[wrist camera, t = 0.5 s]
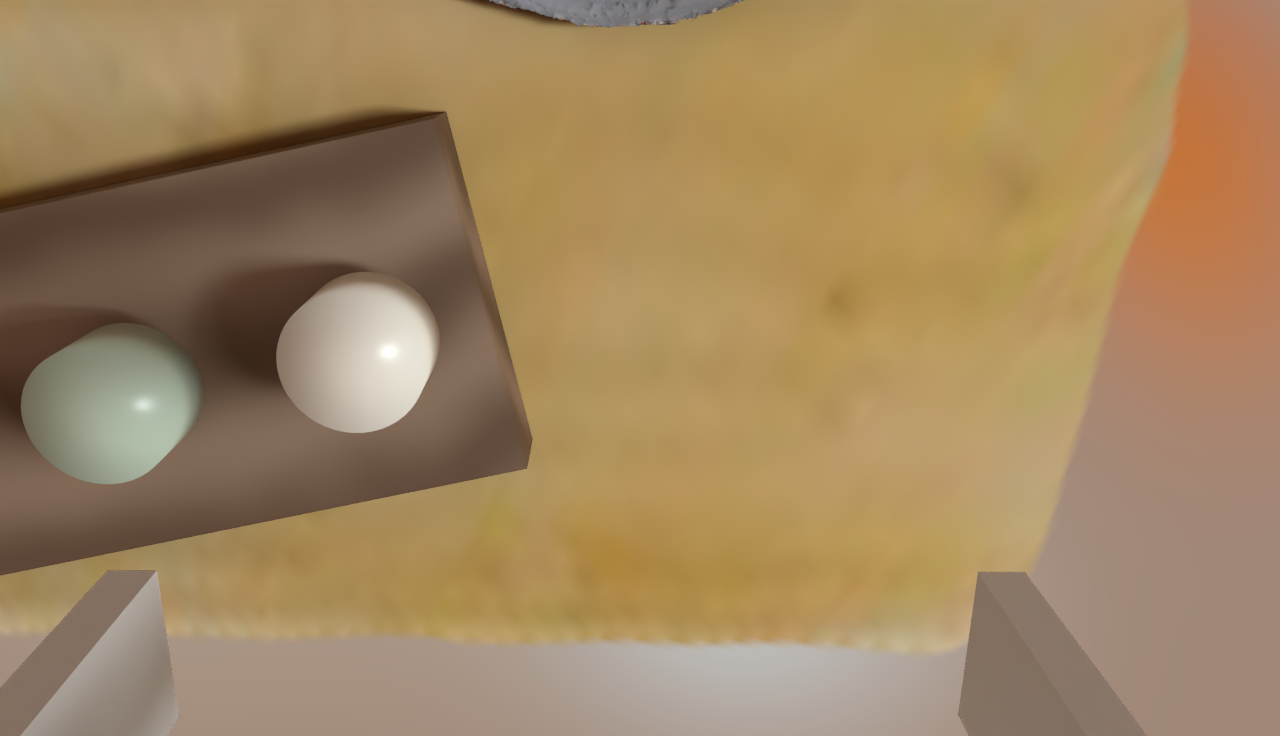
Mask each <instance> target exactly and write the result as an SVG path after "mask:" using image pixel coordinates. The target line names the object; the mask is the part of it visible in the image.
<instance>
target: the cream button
mask: <svg viewBox="0 0 1280 736" xmlns="http://www.w3.org/2000/svg"><path fill="white" fill-rule="evenodd" d="M439 346H440V338H439V330H438V325H437V322H436V319H435V317H434V315H433V313H432V311H431V309H430V307H429V306H428V304H427V303H426V301H425V300H424V299H423V298H422V297H421V295H420V294H419V293H418V292H416V291H415V290H414V289H413V288H412V287H410V286H409V285H407V284H406V283H404V282H403V281H401V280H399V279H397V278H394V277H392V276H389V275H386V274H382V273H377V272H355V273H349V274H346V275H342V276H340V277H338V278H335V279H333V280H332V281H330V282H328V283H327V284H326V285H324V286H323V287H322V288H321V289H320V290H318V291H317V292H316V293H315V294H314V295H313V296H312V297H311V298H310V299H309V300H308V301H307V302H306V303H304V304H303V305H302V306H301V307H300V308H299V309H298V310H297V311H296V312H295V313H294V314H293V315H292V316H291V317H290V318H289V320H288V321H287V323H286V324H285V326H284V328H283V330H282V332H281V334H280V337H279V341H278V345H277V351H276V363H277V370H278V374H279V378H280V381H281V383H282V386H283V388H284V390H285V391H286V393H287V395H288V397H289V398H290V399H291V401H292V402H293V403H294V404H295V405H296V406H297V408H298V409H299V410H300V411H301V412H303V413H304V414H305V415H306V416H308V417H309V418H310V419H312V420H314V421H315V422H317V423H319V424H321V425H323V426H325V427H328V428H331V429H333V430H337V431H342V432H349V433H366V432H373V431H376V430H380V429H383V428H385V427H388V426H390V425H392V424H394V423H395V422H397V421H398V420H400V419H401V418H402V417H404V416H405V415H406V414H407V413H408V412H409V411H410V410H411V409H412V407H413V406H414V404H415V403H416V402H417V400H418V398H419V396H420V394H421V392H422V390H423V388H424V386H425V384H426V382H427V380H428V378H429V376H430V374H431V372H432V370H433V368H434V366H435V364H436V361H437V358H438V354H439Z"/></svg>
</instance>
